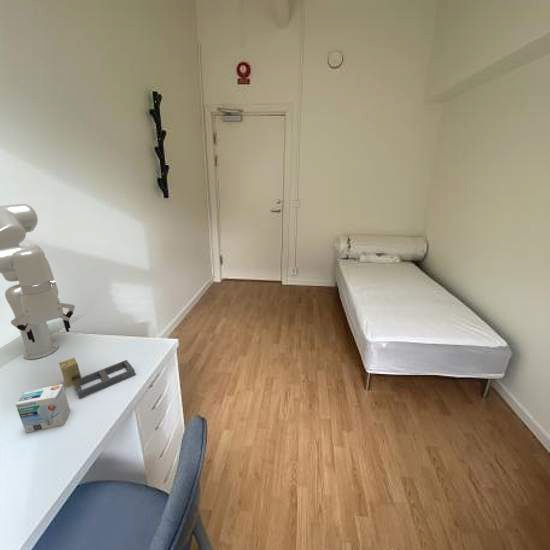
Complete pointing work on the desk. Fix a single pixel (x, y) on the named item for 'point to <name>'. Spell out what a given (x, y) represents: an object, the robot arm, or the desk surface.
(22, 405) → the light bulb box
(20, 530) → the desk surface
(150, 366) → the desk surface
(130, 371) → the grey rectangular frame
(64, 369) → the tan rectangular block
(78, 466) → the desk surface
